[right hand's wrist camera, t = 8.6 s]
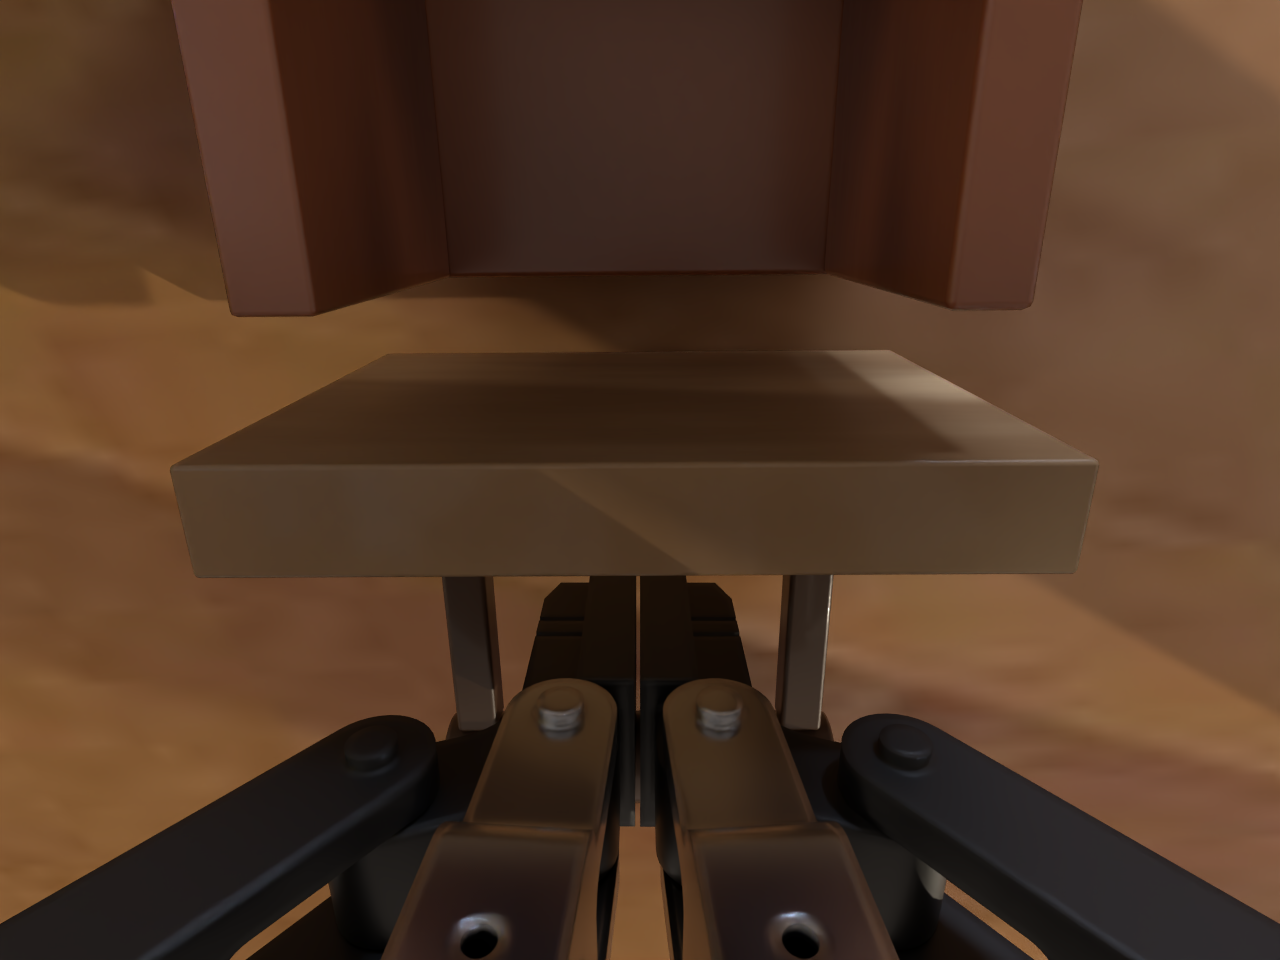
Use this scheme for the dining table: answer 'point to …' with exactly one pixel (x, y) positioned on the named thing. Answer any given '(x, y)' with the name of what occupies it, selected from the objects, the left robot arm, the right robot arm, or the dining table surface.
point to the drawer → (631, 246)
